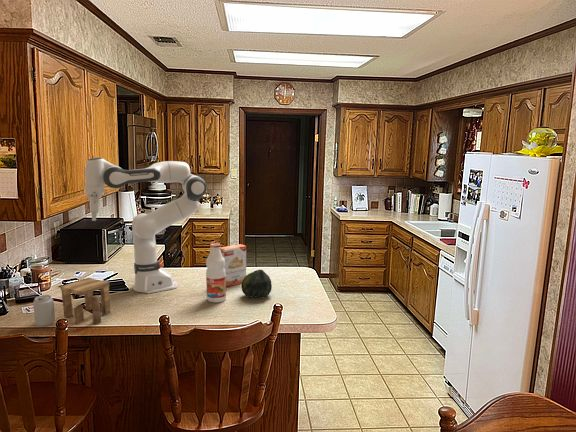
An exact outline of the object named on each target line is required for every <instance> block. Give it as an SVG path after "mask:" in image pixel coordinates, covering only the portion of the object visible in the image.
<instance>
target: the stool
mask: <svg viewBox="0 0 576 432" xmlns="http://www.w3.org/2000/svg"><path fill="white" fill-rule="evenodd" d="M99 290H100V305H101V306H102V307H103V316H104V315H105V316H108V315H109V314H112V312H111V300H110V299H111V297H110V282H109V281H105V280H101V279H95V278H92V277H86V278H82V279H80V280H77V281H74V282H73V281H72V282H70V283H68V284H64V285H61V286H60V291H61V298H62V299H61V300H62V309H63V318H64V319H66V320H70V319H72V318H73V317H74V324H75V325H79V324H80V323H82V322H83V321H84V320H85V319H84V317H85V316H84V307H83V304H78V305H76V306H75V307H74V308H73V302H72V294H75V295H80V296H84V302H85V303H84V305H85V310H87V311H92V310H91V309H92V298H91V297H92V296H94V291H99Z"/></svg>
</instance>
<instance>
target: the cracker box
mask: <svg viewBox="0 0 576 432" xmlns="http://www.w3.org/2000/svg"><path fill="white" fill-rule="evenodd" d="M220 251H221V254H222V256H223V257H224V259H225V266H224V268H225V272H226V288H228V287H231V286H235V285H239V284H242V281H243V279H244V277H245V276H246V275H247V245H245V244H241V243H240V244H234V245H227V246H220Z"/></svg>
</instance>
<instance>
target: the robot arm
mask: <svg viewBox="0 0 576 432" xmlns="http://www.w3.org/2000/svg"><path fill="white" fill-rule="evenodd" d="M84 169H85V170H84V177H85V182H84V195H85V196H86V195H87V199H88V201H89V211H90V213H91V221H92V222H93V221H94V222H96V221H97V214H98V213H99V211H100V209H99V208H100V207H99V206H100V199H102V196H104V195H105V185H106V187H109V188H110V189H119V188H122V187H123V186H125V185H128V184H133V183H134V184H135V183H145V182H149V183H150V182H151V183H161V184H165V183H166V184H169V183H179V184H180V187H181V189H182V191H183V192H184V193H183V194H182V196H180V197H179V198H176V199H174V200H172V201H169V202H167V203H165V204H162V205H161V206H159V207H158V208H156V209H154V210H153V211H152V212H150V213H148V214H147V213H139V214H137V215H135V216H134V217H133V219H132V221H131V229H132V230H131V231H132V239H133V250H134V263H133V271H134V283H133V288H132V290H133V291H135V292H137V293H144V294H153V293H158V292H165V291H169V290H170V291H171V290H174V289H177V288H178V285H179V284H178V282H177V280H175V279H174V278H173V275H172V273H170V271H168V270H166V269H165V268H163V267H164V265H163V263H162V262H161V261H160V260H158V255H157V252H158V251H157V242H156V235H158V234H159V233H161V232H162V231H164V230H165V229H166V228H168V227H170V226H173V225H174V224H176V223H178V222H181V221H183V220H184V219H186V218H189V217H190V216H192V215H194V213H196V212H197V211H198V210H199V209H200V202H199V201H201V199H202V197H203V196H204V195H205V194H206V192H207V188H208V185H207V183H206V181H205V180H204V179H203V178H201V177H200V176H199V175H195V174H193V173H191V168H190V166H189V164H188V163H187V162H185V161H177V160H176V161H175V160H168V161H167V160H164V161H160V162H155V163H153V164H151V165H150V166H148V167H145V168H139V169H123V168H122V167H120V166H119V165H115V164H113V163H111V162H109V161H107V160H105V158H103V157H92V158H89V159H88V160H87V161H86V162H85V168H84Z"/></svg>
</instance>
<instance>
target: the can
mask: <svg viewBox="0 0 576 432" xmlns="http://www.w3.org/2000/svg"><path fill="white" fill-rule="evenodd" d="M32 306H33V307H32V309H33V314H34V324H35V325H36V326H37V327H40V328H41V327H42V328H43V327H48V326H49V327H50V326H51V325H53V324H54V323H55V321H56V316H55V305H54V298H52V295H50V294H43V295H39V296H36V297H35V298H34V300H33V302H32Z"/></svg>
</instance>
